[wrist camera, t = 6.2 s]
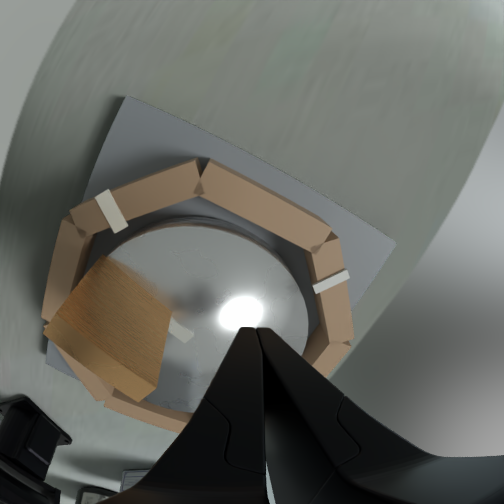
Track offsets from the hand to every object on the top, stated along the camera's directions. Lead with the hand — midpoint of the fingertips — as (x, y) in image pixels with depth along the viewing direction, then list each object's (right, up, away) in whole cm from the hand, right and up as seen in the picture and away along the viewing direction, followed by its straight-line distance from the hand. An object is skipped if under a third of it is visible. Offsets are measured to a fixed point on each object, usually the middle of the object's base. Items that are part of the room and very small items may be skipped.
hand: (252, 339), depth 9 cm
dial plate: (-3, -1, +9) cm, 10 cm away
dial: (-3, -1, +8) cm, 9 cm away
